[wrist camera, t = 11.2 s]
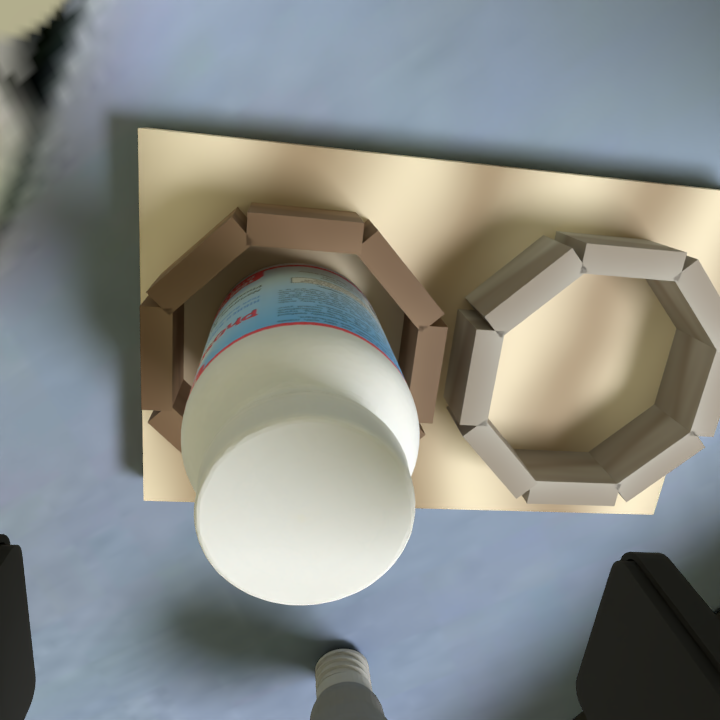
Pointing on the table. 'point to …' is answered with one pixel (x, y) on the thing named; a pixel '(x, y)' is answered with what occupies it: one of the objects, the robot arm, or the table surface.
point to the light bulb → (344, 688)
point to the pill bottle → (300, 439)
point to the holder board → (455, 308)
